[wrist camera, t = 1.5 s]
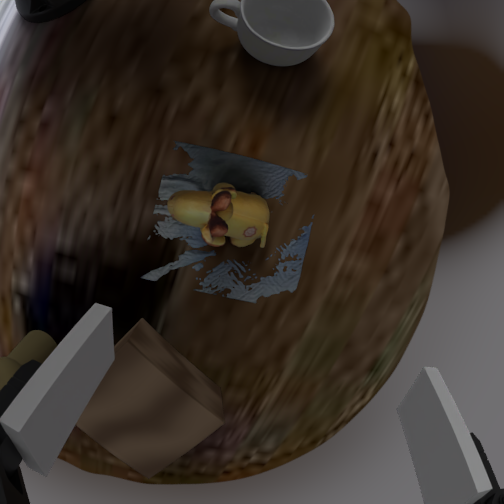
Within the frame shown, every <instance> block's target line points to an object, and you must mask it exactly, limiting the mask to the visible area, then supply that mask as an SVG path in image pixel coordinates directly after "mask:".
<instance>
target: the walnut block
mask: <svg viewBox="0 0 504 504" xmlns="http://www.w3.org/2000/svg"><path fill="white" fill-rule="evenodd" d="M114 355H115V359H114V361H113V363H112V364H111V366H110V367H109V369H108V371H107V372H106V374H105V376H104V377H103V379H102V380H101V382H100V384H99V385H98V387H97V389H96V390H95V392H94V394H93V395H92V397H91V399H90V400H89V402H88V404H87V405H86V407H85V409H84V411H83V412H82V414H81V416H80V417H79V419H78V421H77V423H76V424H75V425H77V426H78V427H79V428H80V429H81V430H83V431H84V432H85V433H86V434H87V435H89V436H90V437H91V438H92V439H94V440H95V441H96V442H97V443H99V444H100V445H101V446H103V447H104V448H105V449H106V450H108V451H109V452H110V453H112V454H113V455H115V456H116V457H117V458H119V459H120V460H122V461H123V462H124V463H126V464H127V465H129V466H130V467H132V468H133V469H135V470H136V471H138V472H139V473H141V474H142V475H144V476H145V477H147V478H148V479H149V478H151V477H152V476H154V475H155V474H157V473H158V472H160V471H161V470H162V469H164V468H165V467H167V466H168V465H170V464H171V463H172V462H174V461H175V460H177V459H178V458H180V457H181V456H182V455H184V454H185V453H186V452H188V451H189V450H190V449H192V448H193V447H195V446H196V445H197V444H199V443H200V442H201V441H203V440H204V439H205V438H206V437H208V436H209V435H210V434H212V433H213V432H214V431H216V430H217V429H218V428H219V427H221V426H222V425H223V424H224V423H225V420H224V412H223V404H222V395H221V388H220V387H219V386H218V385H216V384H215V383H214V382H213V381H212V380H210V379H209V378H208V377H207V376H206V375H204V374H203V373H202V372H201V371H200V370H199V369H197V368H196V367H195V366H194V365H193V364H192V363H191V362H189V361H188V360H187V359H186V358H185V357H184V356H183V355H182V354H180V353H179V352H178V351H177V350H176V349H175V348H174V347H173V346H172V345H171V344H169V343H168V342H167V341H166V340H165V339H164V338H163V337H162V336H161V335H160V334H159V333H158V332H157V331H156V330H155V329H153V328H152V327H151V326H150V325H149V324H148V323H147V322H146V321H145V320H144V319H143V318H142V319H141V320H140V321H139V322H138V323H137V324H136V325H135V326H134V327H133V328H132V329H131V330H130V331H129V332H128V333H127V334H126V335H125V336H124V337H123V338H122V339H121V340H120V341H119V342H118V343H117V344H116V345H115V346H114Z"/></svg>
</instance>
